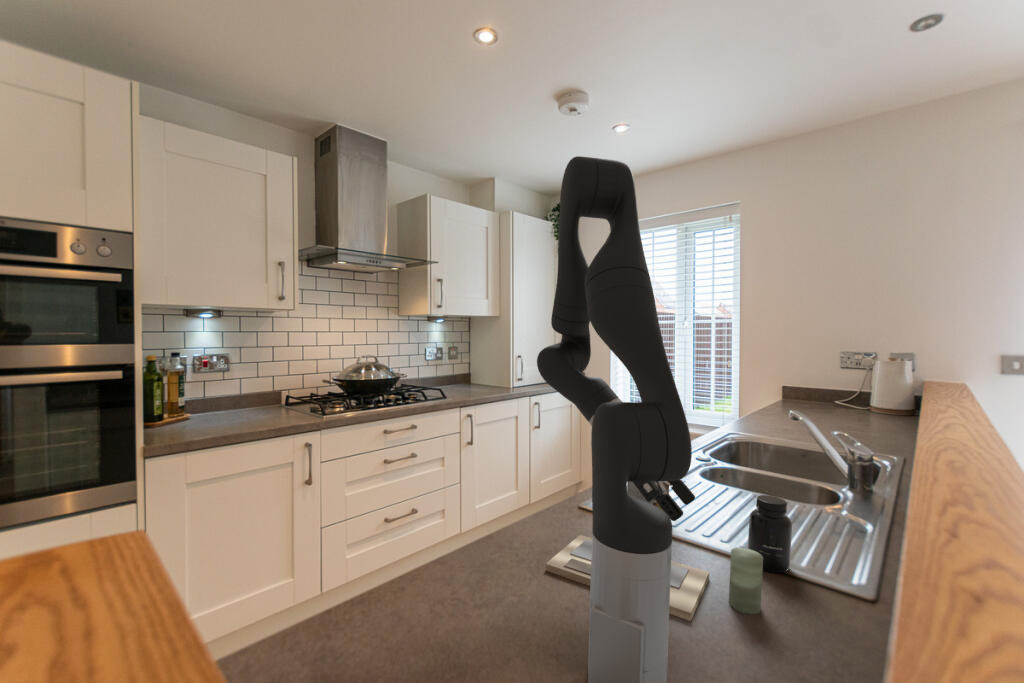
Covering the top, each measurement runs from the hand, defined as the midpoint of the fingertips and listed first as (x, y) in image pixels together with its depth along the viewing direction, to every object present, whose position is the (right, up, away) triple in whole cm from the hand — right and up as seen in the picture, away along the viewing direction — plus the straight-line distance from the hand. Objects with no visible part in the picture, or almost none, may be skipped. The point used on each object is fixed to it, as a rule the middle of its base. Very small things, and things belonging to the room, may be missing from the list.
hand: (685, 509), depth 76 cm
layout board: (-9, -13, +3) cm, 16 cm away
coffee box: (+2, -12, +27) cm, 29 cm away
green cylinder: (+7, -13, -5) cm, 16 cm away
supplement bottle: (+18, -13, +8) cm, 24 cm away
